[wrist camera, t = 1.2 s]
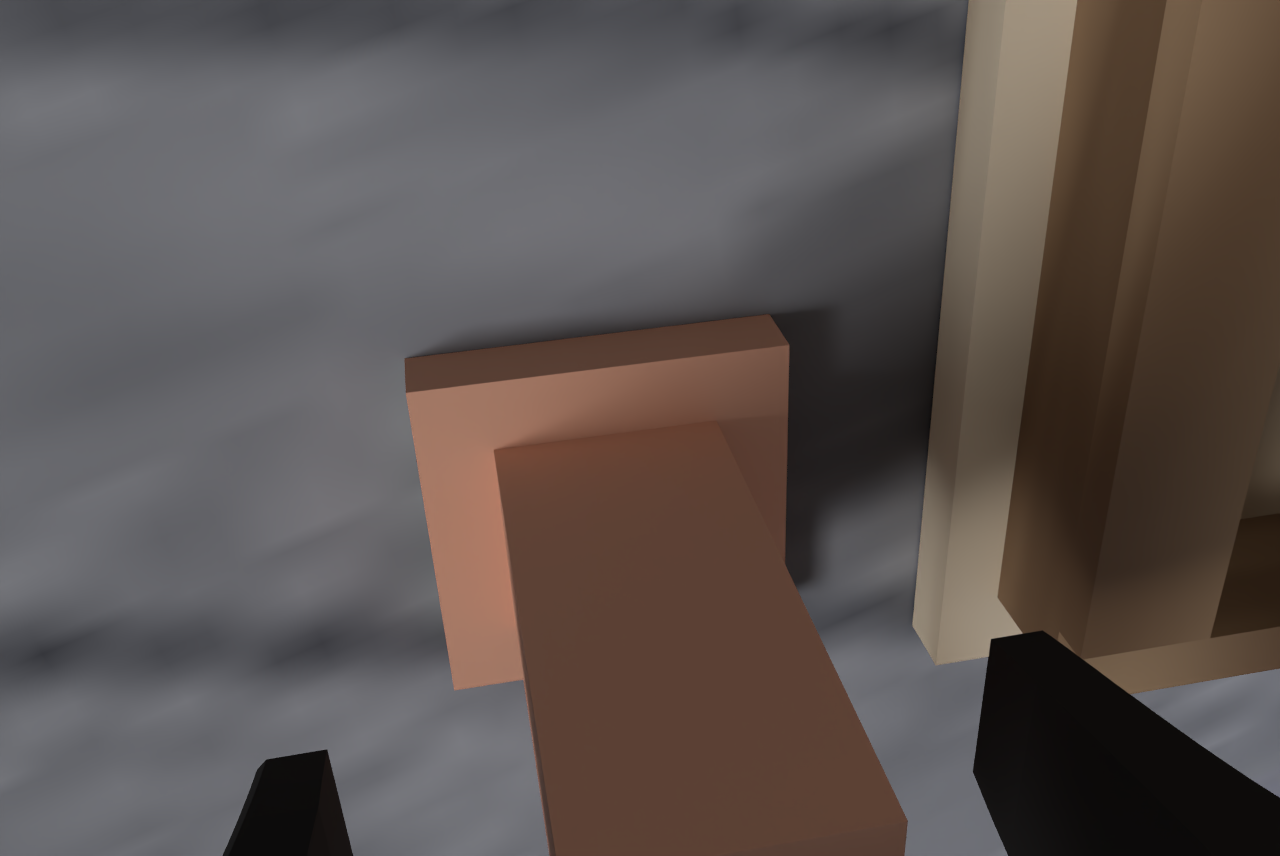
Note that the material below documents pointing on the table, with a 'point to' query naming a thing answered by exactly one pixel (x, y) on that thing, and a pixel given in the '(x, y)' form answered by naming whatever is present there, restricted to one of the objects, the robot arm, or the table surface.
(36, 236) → the table surface
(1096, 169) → the keyhole board
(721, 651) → the key peg
